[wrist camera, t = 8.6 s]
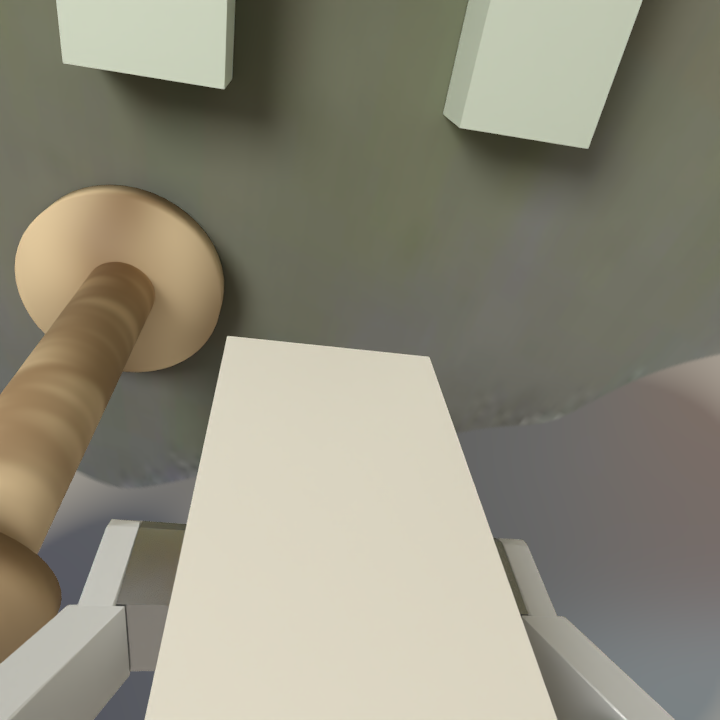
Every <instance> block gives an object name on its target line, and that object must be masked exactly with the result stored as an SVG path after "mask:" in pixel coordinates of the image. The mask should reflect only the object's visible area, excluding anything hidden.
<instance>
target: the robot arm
mask: <svg viewBox="0 0 720 720" xmlns="http://www.w3.org/2000/svg"><path fill="white" fill-rule="evenodd" d="M186 525H187V524H177V523H163V522H150V521H132V520H115V519H112V520H111V521H110V523H109V524H108V526H107V527H106V530H105V533H104V535H103V538H102V540H101V543H100V546H99V549H98V552H97V554H96V557H95V560H94V562H93V565H92V568H91V571H90V573H89V576H88V579H87V581H86V584H85V587H84V589H83V593H82V595H81V598H80V600H79V603H78V605H68V606H67V607H65V608H64V609H63V610H62V611H61V612H60V613H58V614H57V615H56V616H55V617H54V618H53V619H51V620H50V621H49V622H48V623H47V624H46V625H44V626H43V627H42V628H41V629H40V630H39V631H38V632H36V633H35V634H34V635H33V636H32V637H31V638H29V639H28V640H27V641H26V642H25V643H24V644H23V645H21V646H20V647H19V648H18V649H17V650H16V651H15V652H13V653H12V654H11V655H10V656H9V657H8V658H6V659H5V660H4V661H3V662H2V663H1V664H0V720H93V719H94V718H95V717H96V716H97V715H98V713H99V712H100V711H101V710H102V709H103V707H104V706H105V705H106V703H107V702H108V701H109V700H110V699H111V697H112V696H113V695H114V694H115V693H116V691H117V690H118V689H119V687H120V686H121V685H122V684H123V683H124V681H125V680H126V679H127V678H128V677H129V675H130V671H155V670H156V665H157V660H158V656H159V651H160V646H161V642H162V637H163V632H164V628H165V623H166V618H167V614H168V609H169V604H170V600H171V595H172V590H173V586H174V581H175V577H176V572H177V567H178V563H179V558H180V553H181V549H182V544H183V539H184V535H185V530H186ZM493 539H494V542H495V545H496V547H497V550H498V553H499V556H500V559H501V562H502V564H503V567H504V570H505V573H506V576H507V579H508V581H509V584H510V587H511V590H512V593H513V596H514V598H515V601H516V604H517V607H518V610H519V613H520V615H521V618H522V621H523V624H524V627H525V630H526V632H527V635H528V638H529V641H530V644H531V646H532V649H533V652H534V655H535V658H536V661H537V663H538V666H539V669H540V672H541V675H542V678H543V680H544V683H545V686H546V689H547V692H548V695H549V697H550V700H551V703H552V706H553V709H554V712H555V714H556V717H557V720H675V719H674V718H673V717H672V716H670V715H669V714H668V713H667V712H666V711H665V710H664V709H663V708H662V707H661V706H660V705H658V703H656V701H654V700H653V699H652V698H651V697H650V696H649V695H648V694H647V693H646V692H645V691H644V690H643V689H641V687H639V686H638V685H637V684H636V683H635V682H634V681H633V680H632V679H631V678H630V677H629V676H628V675H627V674H625V673H624V672H623V671H622V670H621V669H620V668H619V667H618V666H617V665H616V664H615V663H614V662H612V660H610V659H609V658H608V657H607V656H606V655H605V654H604V653H603V652H602V651H601V650H600V649H598V647H597V646H595V645H594V644H593V643H592V642H591V641H590V640H589V639H588V638H587V637H586V636H585V635H584V634H583V633H582V632H580V631H579V630H578V629H577V628H576V627H575V626H574V625H573V624H572V623H571V622H570V621H569V620H567V619H566V618H565V617H561V616H557V615H556V612H555V610H554V608H553V605H552V603H551V600H550V598H549V596H548V593H547V591H546V589H545V586H544V584H543V581H542V579H541V576H540V574H539V572H538V570H537V567H536V564H535V562H534V560H533V557H532V555H531V553H530V550H529V548H528V545H527V544H526V543H525V542H524V541H523V540H520V539H519V540H518V539H500V538H499V539H496V538H493Z"/></svg>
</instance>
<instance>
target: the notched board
mask: <svg viewBox="0 0 720 720" xmlns="http://www.w3.org/2000/svg"><path fill="white" fill-rule="evenodd" d="M56 2H57V12H58V21H59V31H60V40H61V50H62V59H63V63H66V64H72V65H78V66H84V67H90V68H97V69H103V70H109V71H115V72H121V73H127V74H133V75H139V76H145V77H152V78H158V79H164V80H170V81H176V82H182V83H188V84H194V85H200V86H207V87H213V88H219V89H225V88H226V87H227V85H228V84H229V83H230V81H231V80H232V76H233V50H234V25H235V0H56ZM641 3H642V0H469V1H468V6H467V10H466V15H465V19H464V23H463V28H462V32H461V37H460V41H459V46H458V50H457V54H456V59H455V63H454V68H453V72H452V77H451V81H450V85H449V90H448V94H447V99H446V103H445V107H444V112H443V115H445V116H446V117H447V118H448V119H449V120H451V121H452V122H453V123H454V124H455V125H457V126H458V127H459V128H463V129H469V130H476V131H482V132H488V133H494V134H500V135H506V136H512V137H518V138H524V139H531V140H537V141H543V142H549V143H555V144H561V145H567V146H573V147H579V148H586V149H588V148H589V145H590V142H591V140H592V137H593V134H594V131H595V129H596V126H597V123H598V121H599V118H600V115H601V112H602V110H603V107H604V104H605V101H606V99H607V96H608V93H609V90H610V88H611V85H612V82H613V80H614V77H615V74H616V71H617V69H618V66H619V63H620V60H621V58H622V55H623V52H624V49H625V47H626V44H627V41H628V39H629V36H630V33H631V30H632V28H633V25H634V22H635V19H636V17H637V14H638V11H639V9H640V6H641Z"/></svg>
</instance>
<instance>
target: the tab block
mask: <svg viewBox="0 0 720 720" xmlns="http://www.w3.org/2000/svg"><path fill="white" fill-rule="evenodd" d="M145 720H557V717H556V714H555V712H554V709H553V706H552V703H551V700H550V697H549V695H548V692H547V689H546V686H545V683H544V680H543V678H542V675H541V672H540V669H539V666H538V663H537V661H536V658H535V655H534V652H533V649H532V646H531V644H530V641H529V638H528V635H527V632H526V630H525V627H524V624H523V621H522V618H521V615H520V613H519V610H518V607H517V604H516V601H515V598H514V596H513V593H512V590H511V587H510V584H509V581H508V579H507V576H506V573H505V570H504V567H503V564H502V562H501V559H500V556H499V553H498V550H497V547H496V545H495V542H494V539H493V536H492V534H491V531H490V528H489V525H488V522H487V519H486V516H485V514H484V511H483V508H482V505H481V502H480V499H479V497H478V494H477V491H476V488H475V485H474V483H473V480H472V477H471V474H470V471H469V469H468V466H467V463H466V460H465V457H464V454H463V452H462V448H461V446H460V443H459V440H458V437H457V434H456V431H455V429H454V426H453V423H452V420H451V417H450V415H449V412H448V409H447V406H446V403H445V400H444V398H443V395H442V392H441V389H440V386H439V383H438V381H437V378H436V375H435V372H434V369H433V366H432V364H431V361H430V358H429V357H425V356H415V355H406V354H396V353H387V352H377V351H368V350H358V349H348V348H339V347H329V346H320V345H310V344H300V343H291V342H281V341H272V340H262V339H252V338H243V337H233V336H227V339H226V344H225V348H224V353H223V358H222V362H221V367H220V372H219V376H218V381H217V386H216V390H215V395H214V400H213V404H212V409H211V414H210V418H209V423H208V428H207V432H206V437H205V442H204V446H203V451H202V455H201V460H200V465H199V469H198V474H197V479H196V484H195V488H194V493H193V498H192V502H191V507H190V511H189V516H188V521H187V525H186V530H185V535H184V539H183V544H182V549H181V553H180V558H179V563H178V567H177V572H176V577H175V581H174V586H173V590H172V595H171V600H170V604H169V609H168V614H167V618H166V623H165V628H164V632H163V637H162V642H161V646H160V651H159V656H158V660H157V665H156V670H155V674H154V679H153V684H152V688H151V693H150V698H149V702H148V707H147V712H146V716H145Z"/></svg>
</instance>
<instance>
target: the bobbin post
mask: <svg viewBox="0 0 720 720" xmlns="http://www.w3.org/2000/svg"><path fill="white" fill-rule="evenodd" d="M15 275H16V283H17V287H18V291H19V294H20V296H21V299H22V301H23V304H24V306H25V307H26V309H27V311H28V313H29V315H30V316H31V317H32V319H33V320H34V322H35V323H36V324H37V326H38V327H39V328H40V329H41V330H42V331H43V332H44V333H45V335H44V337H43V338H42V339H41V341H40V342H39V343H38V345H37V346H36V347H35V349H34V350H33V351H32V353H31V354H30V355H29V357H28V358H27V359H26V361H25V362H24V363H23V365H22V366H21V368H20V369H19V370H18V372H17V373H16V374H15V376H14V377H13V378H12V380H11V381H10V382H9V384H8V385H7V386H6V388H5V389H4V390H3V392H2V393H1V394H0V664H1V663H2V662H3V661H4V660H5V659H6V658H8V657H9V656H10V655H11V654H12V653H13V652H15V651H16V650H17V649H18V648H19V647H20V646H21V645H23V644H24V643H25V642H26V641H27V640H28V639H29V638H31V637H32V636H33V635H34V634H35V633H36V632H38V631H39V630H40V629H41V628H42V627H43V626H44V625H46V624H47V623H48V622H49V621H50V620H51V619H53V618H54V617H55V616H56V615H57V613H58V610H59V608H60V605H61V589H60V586H59V582H58V580H57V578H56V576H55V574H54V573H53V571H52V570H51V569H50V568H49V566H48V565H47V564H46V563H45V562H44V561H43V560H42V559H41V558H40V557H39V556H38V555H37V554H38V552H39V550H40V548H41V545H42V543H43V541H44V539H45V537H46V535H47V533H48V530H49V528H50V526H51V524H52V522H53V520H54V518H55V515H56V513H57V511H58V509H59V507H60V505H61V502H62V500H63V498H64V496H65V494H66V491H67V490H68V487H69V485H70V483H71V481H72V479H73V477H74V475H75V472H76V470H77V468H78V466H79V464H80V462H81V460H82V457H83V455H84V453H85V451H86V449H87V447H88V445H89V442H90V440H91V438H92V436H93V434H94V432H95V429H96V427H97V425H98V423H99V421H100V419H101V417H102V414H103V412H104V410H105V408H106V406H107V404H108V402H109V399H110V397H111V395H112V393H113V391H114V389H115V387H116V384H117V382H118V380H119V378H120V376H121V374H122V372H123V371H125V372H147V371H155V370H160V369H164V368H167V367H170V366H173V365H176V364H178V363H180V362H182V361H184V360H186V359H187V358H189V357H190V356H192V355H193V354H194V353H196V352H197V351H198V350H199V349H200V348H201V347H202V346H203V345H204V344H205V343H206V342H207V340H208V339H209V337H210V336H211V334H212V333H213V330H214V328H215V326H216V324H217V321H218V317H219V313H220V309H221V305H222V301H223V295H224V275H223V270H222V265H221V262H220V259H219V256H218V254H217V252H216V249H215V247H214V245H213V243H212V242H211V240H210V239H209V237H208V236H207V234H206V233H205V232H204V230H203V229H202V228H201V227H200V226H199V224H198V223H197V222H196V221H195V220H194V219H192V218H191V217H190V216H189V215H188V214H187V213H186V212H184V211H183V210H182V209H180V208H179V207H178V206H176V205H175V204H173V203H171V202H170V201H168V200H166V199H164V198H162V197H160V196H158V195H156V194H153V193H151V192H148V191H145V190H141V189H138V188H133V187H128V186H121V185H96V186H91V187H86V188H82V189H79V190H76V191H73V192H71V193H69V194H67V195H65V196H63V197H61V198H60V199H58V200H57V201H56V202H54V203H53V204H52V205H50V206H49V207H48V208H47V209H46V210H45V211H43V212H42V213H41V214H40V215H39V216H38V217H37V218H36V219H35V220H34V221H33V222H32V223H31V224H30V225H29V227H28V228H27V230H26V231H25V233H24V234H23V236H22V238H21V241H20V243H19V245H18V249H17V254H16V259H15Z"/></svg>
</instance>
